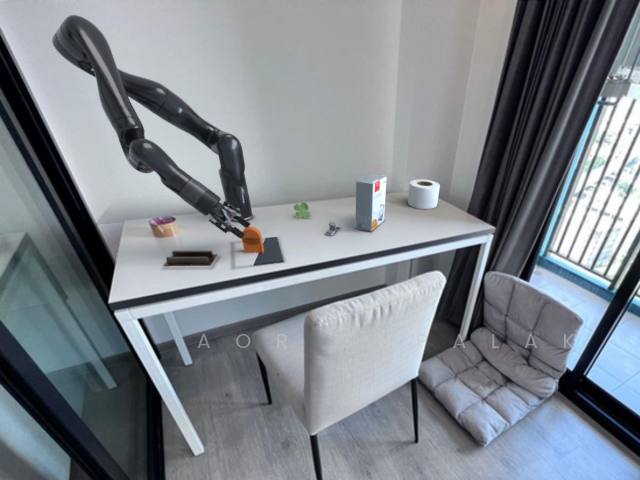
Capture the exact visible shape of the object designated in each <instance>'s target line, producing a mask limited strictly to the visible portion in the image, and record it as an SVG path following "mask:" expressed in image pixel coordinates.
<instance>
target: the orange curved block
mask: <svg viewBox="0 0 640 480" xmlns="http://www.w3.org/2000/svg"><path fill="white" fill-rule="evenodd" d="M242 232H243V233H244V234H245V235H244V236H243V237H242V238H241V242H242V246H243V251H244V253H246V254H247V253H251V254H252V253H253V254H256V253H257V254H259V253H263V252H264V246H263V242H264V240H263V237H262V233H261V231H260V230H259V229H258V228H257V227H254V226H249V227H247V228H245V227H244V229H243V230H242Z"/></svg>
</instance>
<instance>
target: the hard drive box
mask: <svg viewBox="0 0 640 480" xmlns="http://www.w3.org/2000/svg"><path fill="white" fill-rule="evenodd" d="M386 192H387V176H386V175H381V174H375V173H369V174H368V175H365V176H364V177H361V178H360V179H357V180H356V181H355V229H357V230H361V231H365V232H366V231H367V232H372V231H373V230H375V229H376V228H377V227H378V226H380V225H381V224H382V223H383V222H384V221H385V212H386V211H385V210H386V194H387V193H386Z"/></svg>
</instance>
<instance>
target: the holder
mask: <svg viewBox="0 0 640 480" xmlns="http://www.w3.org/2000/svg"><path fill="white" fill-rule="evenodd" d="M171 254H172V255H171V256H166V257H165V260H166V262H165V263H164V264H163V265H162V266H163V267H210V266H212V264H213V263H214V261H215V260H216V258H217V257H218V255H219V254H218V253H214V251H213V250H172V251H171Z"/></svg>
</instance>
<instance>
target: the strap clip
mask: <svg viewBox="0 0 640 480" xmlns="http://www.w3.org/2000/svg"><path fill="white" fill-rule="evenodd" d="M328 227H329V229H328V230H326V231H325V235H326V236H329V237H331V236H334V235H335V234H336V232H338V231H340V229H341V228H340V227H338V226H337V223H336V222H334V221H329V222H328Z"/></svg>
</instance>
